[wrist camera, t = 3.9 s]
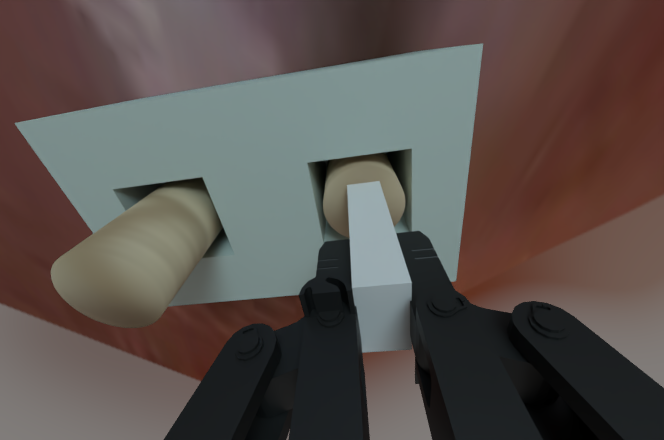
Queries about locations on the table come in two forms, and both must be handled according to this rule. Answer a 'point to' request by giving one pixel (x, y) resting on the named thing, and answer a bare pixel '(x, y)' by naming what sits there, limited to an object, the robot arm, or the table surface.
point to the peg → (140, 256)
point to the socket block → (277, 160)
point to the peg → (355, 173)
